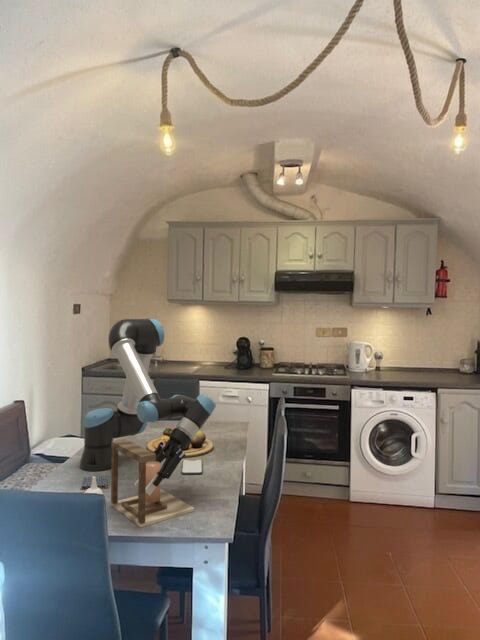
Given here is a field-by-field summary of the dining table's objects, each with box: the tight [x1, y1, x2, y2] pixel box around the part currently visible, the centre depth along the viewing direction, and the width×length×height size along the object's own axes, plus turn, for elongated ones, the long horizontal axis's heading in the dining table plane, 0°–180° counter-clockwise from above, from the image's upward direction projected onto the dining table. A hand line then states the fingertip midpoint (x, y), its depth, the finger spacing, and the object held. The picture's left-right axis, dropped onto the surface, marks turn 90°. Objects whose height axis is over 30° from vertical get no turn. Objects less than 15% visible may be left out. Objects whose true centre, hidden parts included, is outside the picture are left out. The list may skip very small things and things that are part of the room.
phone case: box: [180, 459, 204, 476], centre depth 208 cm, size 9×2×16 cm
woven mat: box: [80, 475, 111, 491], centre depth 188 cm, size 10×11×2 cm
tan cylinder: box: [145, 461, 162, 503], centre depth 166 cm, size 6×6×12 cm
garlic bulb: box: [84, 476, 104, 495], centre depth 174 cm, size 6×6×8 cm
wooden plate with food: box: [146, 426, 214, 459], centre depth 238 cm, size 32×32×8 cm
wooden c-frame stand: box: [110, 438, 195, 528], centre depth 167 cm, size 21×20×22 cm
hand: (141, 490), depth 164 cm, fingers closed on tan cylinder, 6 cm apart
